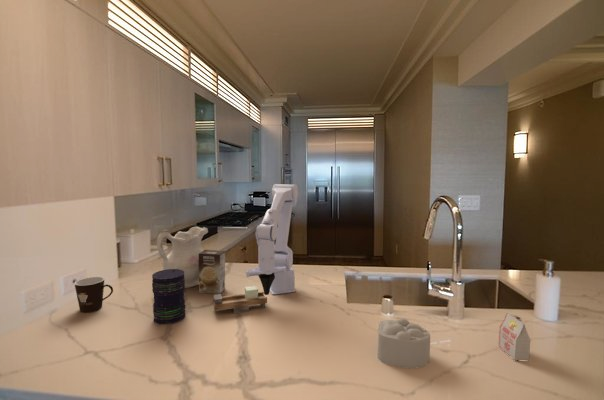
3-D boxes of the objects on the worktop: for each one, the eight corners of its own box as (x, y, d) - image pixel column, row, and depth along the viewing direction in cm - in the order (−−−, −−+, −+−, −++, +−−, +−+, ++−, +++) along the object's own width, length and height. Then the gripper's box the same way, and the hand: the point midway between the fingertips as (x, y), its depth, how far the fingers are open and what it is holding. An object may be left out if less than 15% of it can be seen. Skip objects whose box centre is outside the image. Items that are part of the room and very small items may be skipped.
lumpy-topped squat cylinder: (378, 342, 90) (379, 313, 89) (426, 349, 86) (428, 319, 85) (377, 363, 80) (378, 331, 79) (431, 372, 76) (433, 338, 75)
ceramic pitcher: (177, 299, 120) (179, 236, 117) (146, 285, 130) (147, 227, 127) (218, 283, 138) (221, 228, 135) (189, 272, 148) (191, 220, 145)
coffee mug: (70, 310, 107) (69, 282, 106) (97, 301, 115) (95, 275, 114) (89, 318, 102) (88, 288, 101) (116, 308, 109) (114, 280, 108)
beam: (263, 301, 116) (263, 287, 116) (267, 308, 110) (267, 293, 110) (213, 308, 110) (212, 294, 109) (214, 316, 104) (214, 300, 104)
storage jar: (174, 326, 97) (172, 279, 96) (146, 323, 99) (144, 277, 98) (191, 312, 107) (190, 270, 105) (165, 309, 109) (164, 267, 107)
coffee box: (198, 292, 124) (197, 253, 123) (204, 287, 130) (204, 249, 129) (220, 294, 123) (219, 254, 122) (225, 288, 129) (225, 250, 128)
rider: (255, 295, 114) (255, 285, 113) (258, 299, 110) (258, 289, 110) (244, 297, 112) (244, 287, 112) (246, 301, 109) (246, 290, 108)
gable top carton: (511, 346, 88) (514, 312, 87) (528, 361, 81) (531, 324, 80) (498, 346, 88) (500, 312, 87) (514, 361, 81) (517, 324, 80)
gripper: (248, 262, 106) (248, 300, 107) (289, 258, 111) (288, 295, 112) (244, 256, 112) (244, 293, 113) (283, 253, 117) (282, 288, 118)
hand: (266, 293), depth 113 cm, fingers closed
